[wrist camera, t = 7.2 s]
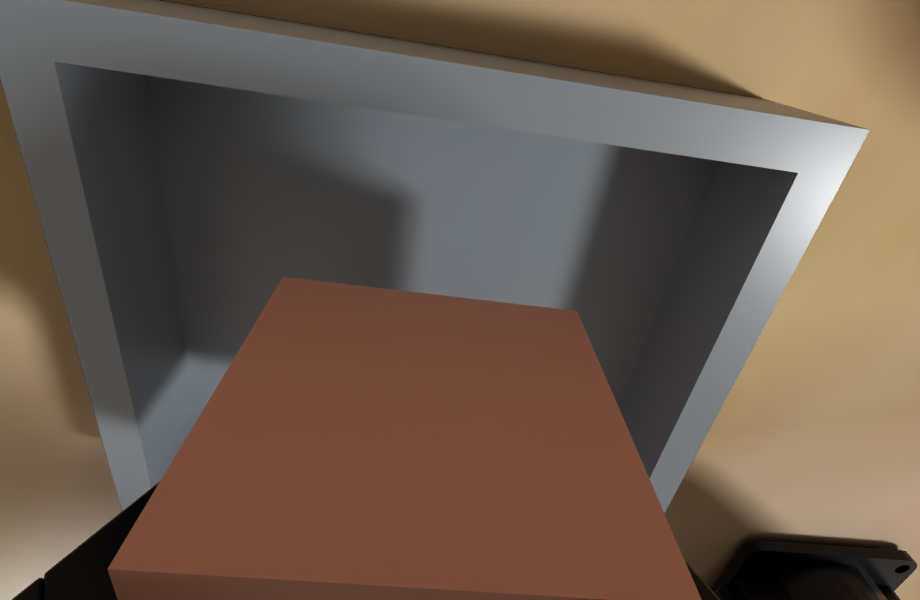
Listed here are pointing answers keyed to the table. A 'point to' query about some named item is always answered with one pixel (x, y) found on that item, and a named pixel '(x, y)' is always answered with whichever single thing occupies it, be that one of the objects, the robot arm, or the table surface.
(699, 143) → the tray
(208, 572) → the red block
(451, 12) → the table surface
